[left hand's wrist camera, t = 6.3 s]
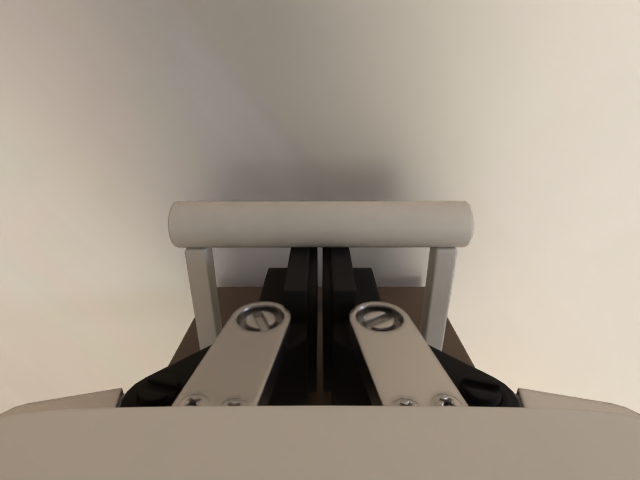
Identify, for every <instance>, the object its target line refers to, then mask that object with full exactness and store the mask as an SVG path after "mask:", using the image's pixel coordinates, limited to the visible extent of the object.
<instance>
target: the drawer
mask: <svg viewBox="0 0 640 480" xmlns="http://www.w3.org/2000/svg"><path fill="white" fill-rule="evenodd" d="M168 229H169V235H170V239H171V241H172V243H173V245H174V246H176V247H179V248H186V249H185V256H186V262H187V269H188V275H189V282H190V288H191V294H192V301H193V307H194V314H195V318H194V320H193V321H192V323H191V325H190V327H189V329H188V331H187V332H186V334H185V336H184V338H183V340H182V342H181V344H180V345H179V347H178V349H177V351H176V353H175V355H174V356H173V358H172V360H171V362H170V364H169V366H170V365H172V364H174V363H176V362H178V361H180V360H182V359H184V358H186V357H188V356H190V355H192V354H194V353H196V352H198V351H200V350H202V349H204V348H206V347H208V346H210V345H212V344H213V343H214V341H215V340H216V338H217V336H218V335H219V333H220V332H221V330H222V329H223V327H224V326H225V324H226V323H227V321H228V320H229V318H230V317H231V315H232V314H233V313H234V312H235V311H236V310H237V309H239V308H241V307H242V306H244V305H247V304H250V303H254V302H259V299H260V296H261V293H262V289H263V287H217V285H216V277H215V269H214V261H213V253H212V247H430V253H429V261H428V270H427V278H426V286H425V287H377V289H378V292H379V296H380V299H381V302H386V303H390V304H393V305H396V306H398V307H399V308H401V309H403V310H404V311H405V312H406V313H407V314H408V315H409V317H410V318H411V320H412V321H413V323H414V324H415V326H416V327H417V329H418V330H419V332H420V333H421V335H422V336H423V338H424V340H425V341H426V343H427V344H428V345H430V346H432V347H434V348H436V349H438V350H440V351H442V352H444V353H446V354H448V355H450V356H452V357H454V358H456V359H458V360H460V361H462V362H464V363H466V364H468V365H470V366H472V367H474V365H473V363H472V361H471V359H470V357H469V356H468V354H467V352H466V350H465V348H464V347H463V345H462V343H461V341H460V339H459V337H458V336H457V334H456V332H455V330H454V328H453V327H452V325H451V323H450V321H449V319H448V318H447V314H448V308H449V301H450V295H451V288H452V282H453V275H454V269H455V262H456V256H457V249H456V248H455V247H465V246H467V245H468V244H469V243H470V241H471V239H472V236H473V230H474V216H473V211H472V208H471V206H470V204H469V203H468V202H466V201H186V202H175V203H174V204H173V205H172V207H171V209H170V212H169V218H168ZM474 368H475V367H474ZM308 406H332V405H331V392H323V323H322V287H318V323H317V392H309V405H308Z"/></svg>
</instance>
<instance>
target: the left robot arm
mask: <svg viewBox="0 0 640 480" xmlns="http://www.w3.org/2000/svg"><path fill="white" fill-rule="evenodd" d="M317 323H318V274H317V247H291V251H290V257H289V262H288V267H287V268H269V269H268V272H267V275H266V279H265V282H264V286H263V289H262V293H261V296H260V299H259V302H254V303H250V304H247V305H244V306H242V307H241V308H239V309H237V310H236V311H235V312H234V313H233V314H232V315H231V317H230V318H229V320H228V321H227V323H226V324H225V326H224V327H223V329H222V330H221V332H220V333H219V335H218V336H217V338H216V340H215V341H214V343H213V344H212V345H210V346H208V347H206V348H204V349H202V350H200V351H198V352H196V353H194V354H192V355H190V356H188V357H186V358H184V359H182V360H180V361H178V362H176V363H174V364H172V365H170V366H168V367H166V368H164V369H162V370H160V371H158V372H156V373H154V374H152V375H150V376H148V377H146V378H144V379H143V380H141V381H139V382H138V383H136V384H135V385H134V386H133V387H132V388H130V389H129V390H128V391H127V392H126V394H123V390H122V388H118V389H112V390H106V391H100V392H94V393H88V394H82V395H76V396H70V397H64V398H58V399H52V400H45V401H39V402H33V403H28V404H24V405H21V406H17V407H14V408H12V409H10V410H8V411H6V412H3V413H1V414H0V480H640V414H639V413H637V412H634V411H632V410H630V409H628V408H626V407H623V406H619V405H616V404H612V403H607V402H601V401H595V400H588V399H582V398H576V397H570V396H564V395H558V394H552V393H546V392H540V391H534V390H528V389H522V388H518V390H517V394H514V392H513V391H512V390H511V389H510V388H508V387H507V386H506V385H505V384H504V383H502V382H501V381H499V380H497V379H496V378H494V377H492V376H490V375H488V374H486V373H484V372H482V371H480V370H478V369H476V368H474V367H472V366H470V365H468V364H466V363H464V362H462V361H460V360H458V359H456V358H454V357H452V356H450V355H448V354H446V353H444V352H442V351H440V350H438V349H436V348H434V347H432V346H430V345H428V344H427V343H426V341H425V340H424V338H423V336H422V335H421V333H420V332H419V330H418V329H417V327H416V326H415V324H414V323H413V321H412V320H411V318H410V317H409V315H408V314H407V313H406V312H405V311H404V310H403V309H401V308H399V307H398V306H396V305H393V304H390V303H386V302H381V299H380V296H379V292H378V289H377V286H376V282H375V279H374V275H373V272H372V269H371V268H353V267H352V262H351V256H350V251H349V247H323V277H322V323H323V392H331V405H332V406H308V405H309V392H317Z"/></svg>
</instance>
